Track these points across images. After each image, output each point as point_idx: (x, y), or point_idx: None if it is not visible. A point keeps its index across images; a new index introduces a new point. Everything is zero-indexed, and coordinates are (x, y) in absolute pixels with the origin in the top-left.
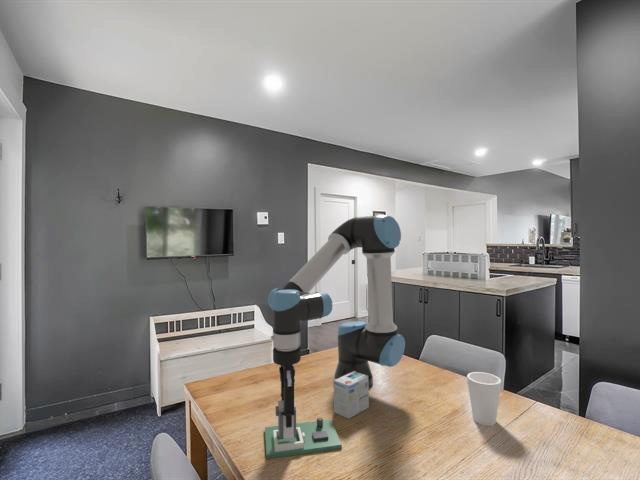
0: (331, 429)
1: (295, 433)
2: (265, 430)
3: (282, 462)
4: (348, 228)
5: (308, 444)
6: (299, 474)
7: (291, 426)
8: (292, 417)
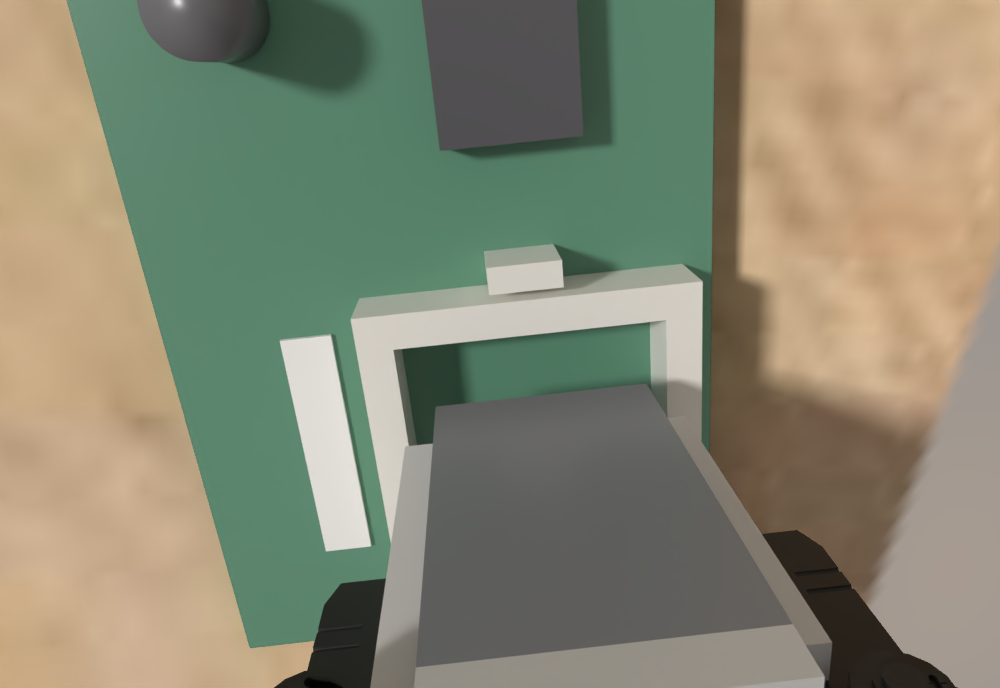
0: None
1: (656, 408)
2: (310, 638)
3: (776, 448)
4: None
5: (624, 207)
6: (980, 305)
7: (807, 541)
8: (793, 601)
